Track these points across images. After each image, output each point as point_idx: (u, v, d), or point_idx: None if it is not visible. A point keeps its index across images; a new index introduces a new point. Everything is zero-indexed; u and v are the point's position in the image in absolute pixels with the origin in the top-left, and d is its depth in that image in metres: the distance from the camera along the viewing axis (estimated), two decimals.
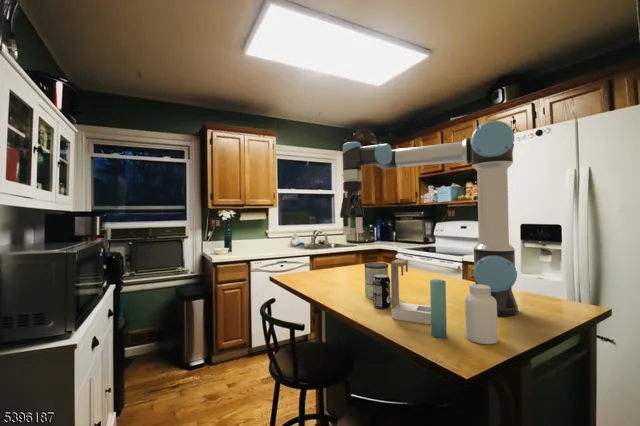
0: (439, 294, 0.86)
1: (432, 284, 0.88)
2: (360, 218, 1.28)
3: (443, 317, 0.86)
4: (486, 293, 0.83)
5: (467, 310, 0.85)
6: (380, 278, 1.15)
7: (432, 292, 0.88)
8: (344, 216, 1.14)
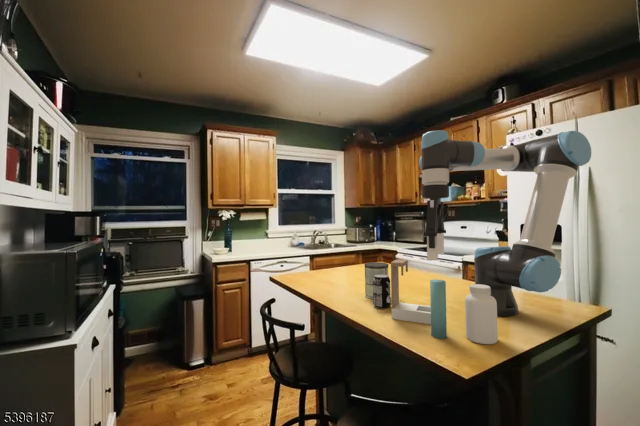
0: (439, 294, 0.86)
1: (432, 284, 0.88)
2: (441, 235, 0.94)
3: (443, 317, 0.86)
4: (486, 293, 0.83)
5: (467, 310, 0.85)
6: (380, 278, 1.15)
7: (432, 292, 0.88)
8: (431, 234, 0.81)
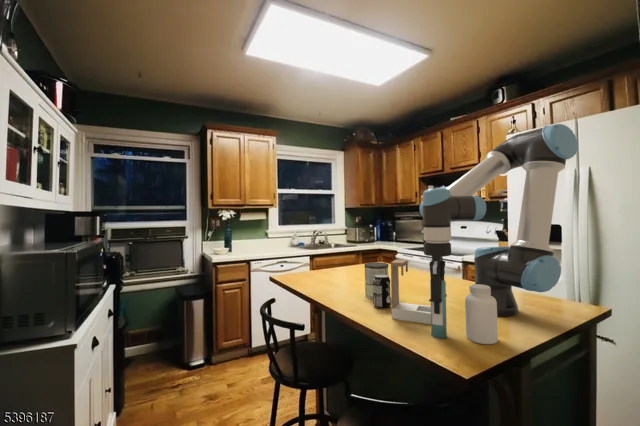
0: None
1: None
2: None
3: (443, 317, 0.86)
4: (486, 293, 0.83)
5: (467, 310, 0.85)
6: (380, 278, 1.15)
7: None
8: (436, 301, 0.84)
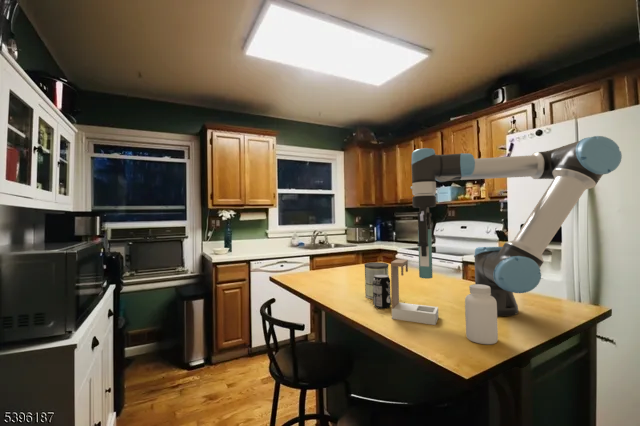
0: None
1: None
2: None
3: (429, 260, 1.00)
4: (486, 293, 0.83)
5: (467, 310, 0.85)
6: (380, 278, 1.15)
7: None
8: (423, 245, 0.97)
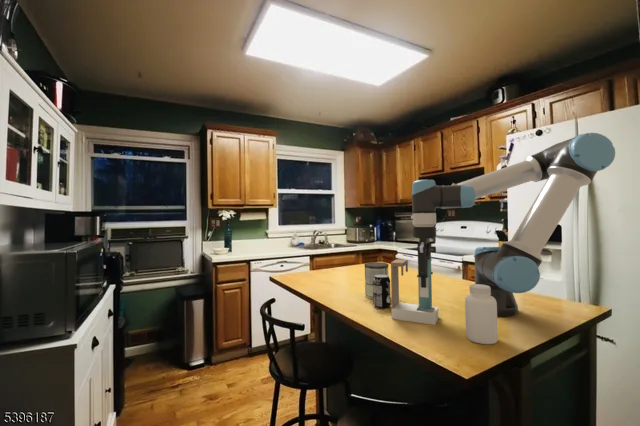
0: None
1: None
2: None
3: (429, 291, 1.00)
4: (486, 293, 0.83)
5: (467, 310, 0.85)
6: (380, 278, 1.15)
7: None
8: (423, 276, 0.98)
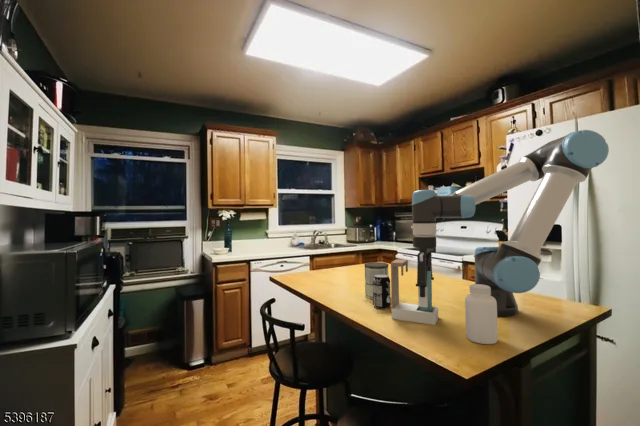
0: None
1: None
2: None
3: (429, 302, 1.00)
4: (486, 293, 0.83)
5: (467, 310, 0.85)
6: (380, 278, 1.15)
7: None
8: (422, 286, 0.95)
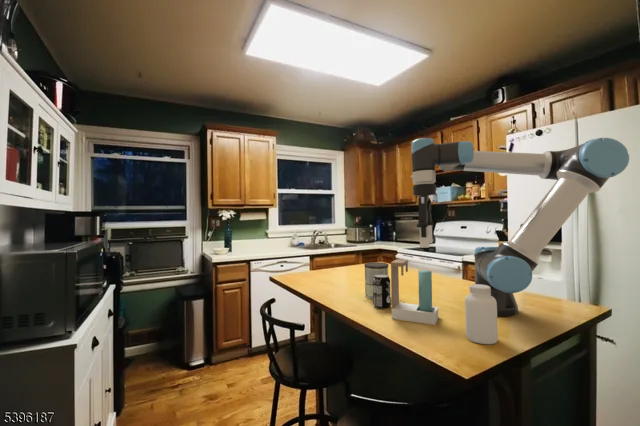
0: (425, 282, 1.00)
1: (420, 274, 1.01)
2: (430, 226, 1.10)
3: (429, 303, 1.00)
4: (486, 293, 0.83)
5: (467, 310, 0.85)
6: (380, 278, 1.15)
7: (420, 281, 1.01)
8: (423, 225, 0.96)
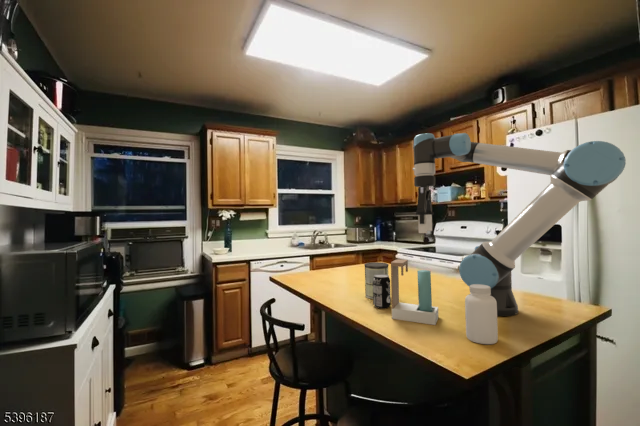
0: (425, 282, 1.00)
1: (419, 274, 1.02)
2: (430, 215, 1.20)
3: (429, 302, 1.00)
4: (486, 293, 0.83)
5: (467, 310, 0.85)
6: (380, 278, 1.15)
7: (419, 281, 1.02)
8: (421, 213, 1.06)
